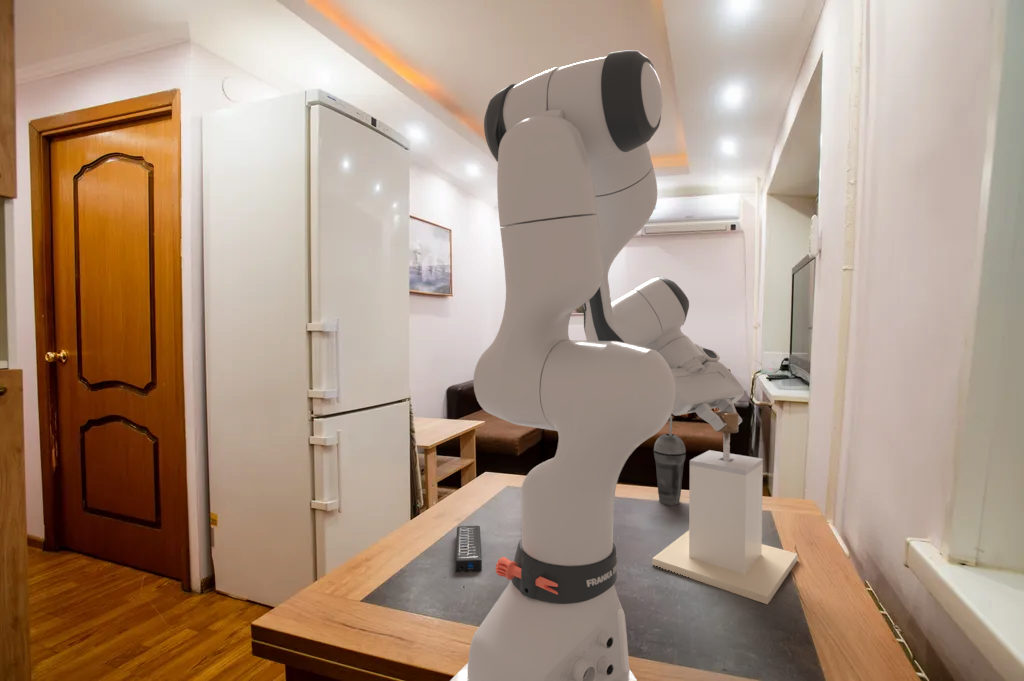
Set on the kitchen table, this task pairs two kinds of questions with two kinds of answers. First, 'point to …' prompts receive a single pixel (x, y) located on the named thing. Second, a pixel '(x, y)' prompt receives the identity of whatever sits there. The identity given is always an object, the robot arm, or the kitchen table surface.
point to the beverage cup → (669, 466)
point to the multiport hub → (468, 549)
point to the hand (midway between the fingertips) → (730, 426)
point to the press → (727, 530)
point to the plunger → (728, 431)
